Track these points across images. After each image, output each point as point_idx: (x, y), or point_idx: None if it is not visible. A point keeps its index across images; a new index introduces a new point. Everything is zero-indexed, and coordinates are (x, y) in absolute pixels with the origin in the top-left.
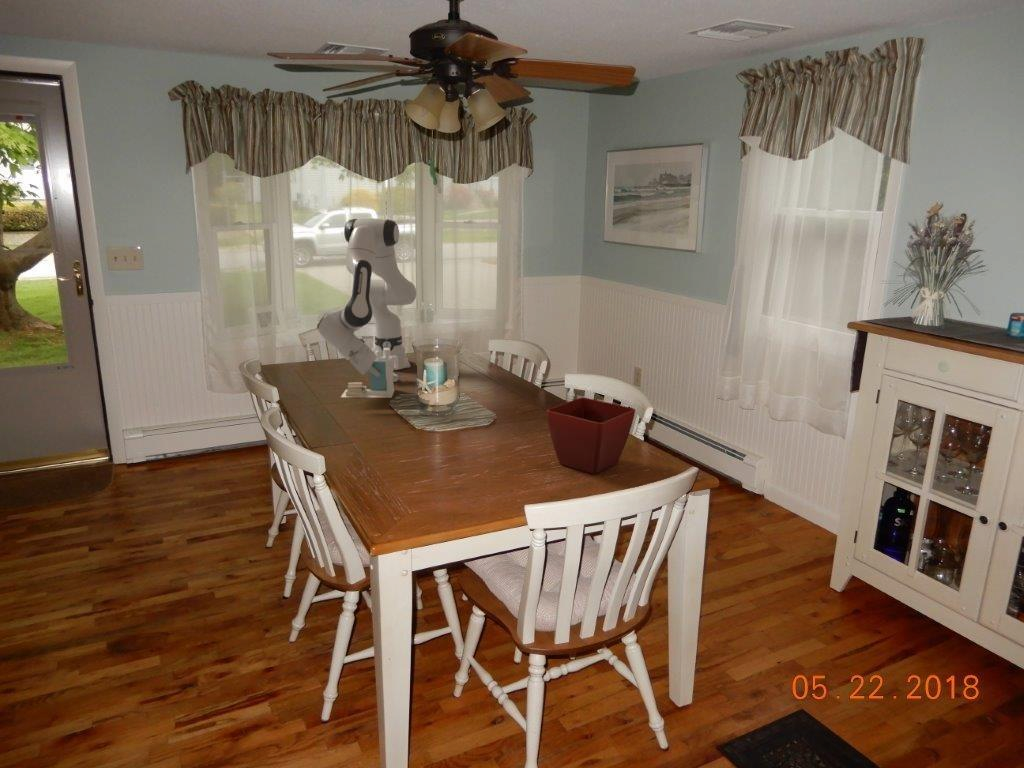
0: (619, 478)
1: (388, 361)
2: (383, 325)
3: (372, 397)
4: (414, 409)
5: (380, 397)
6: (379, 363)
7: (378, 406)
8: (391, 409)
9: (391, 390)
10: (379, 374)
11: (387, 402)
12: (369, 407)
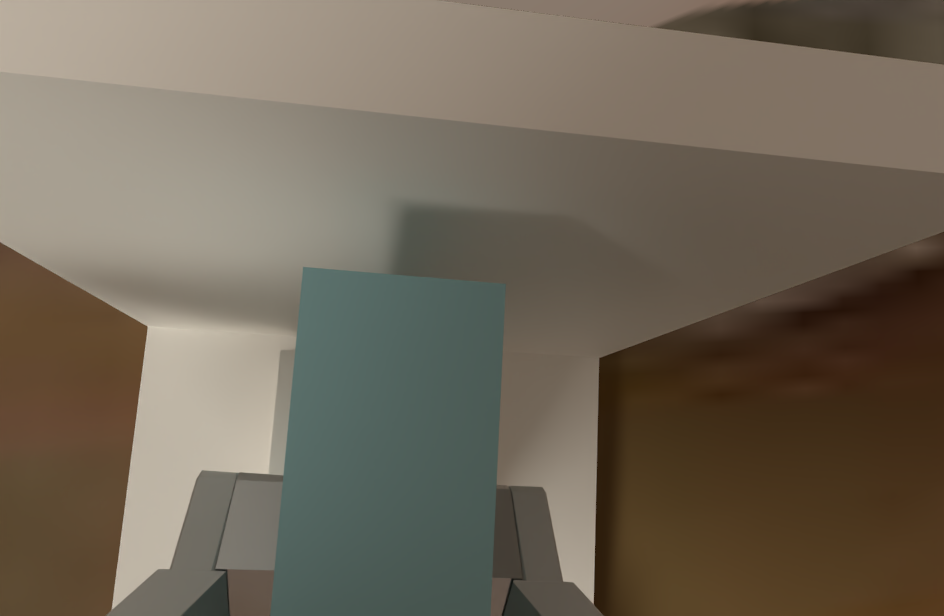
0: None
1: (886, 102)
2: None
3: (591, 587)
4: (904, 38)
5: (596, 462)
6: (490, 532)
7: (810, 468)
8: (920, 296)
9: None
10: (541, 501)
11: (633, 362)
12: (856, 586)
